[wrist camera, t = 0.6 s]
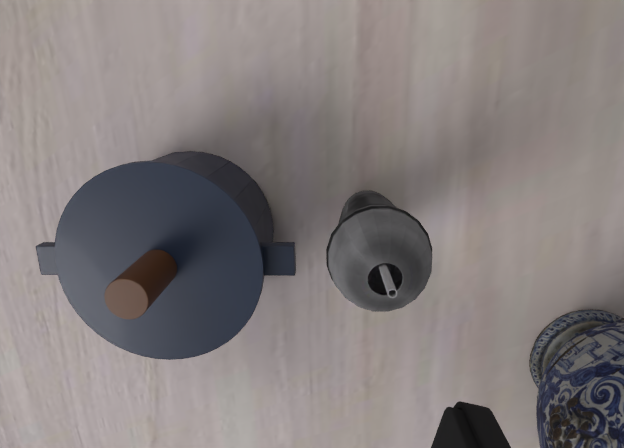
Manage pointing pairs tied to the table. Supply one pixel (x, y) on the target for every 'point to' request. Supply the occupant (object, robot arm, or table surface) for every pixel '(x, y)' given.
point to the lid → (159, 260)
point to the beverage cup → (378, 254)
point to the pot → (242, 189)
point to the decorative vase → (580, 381)
